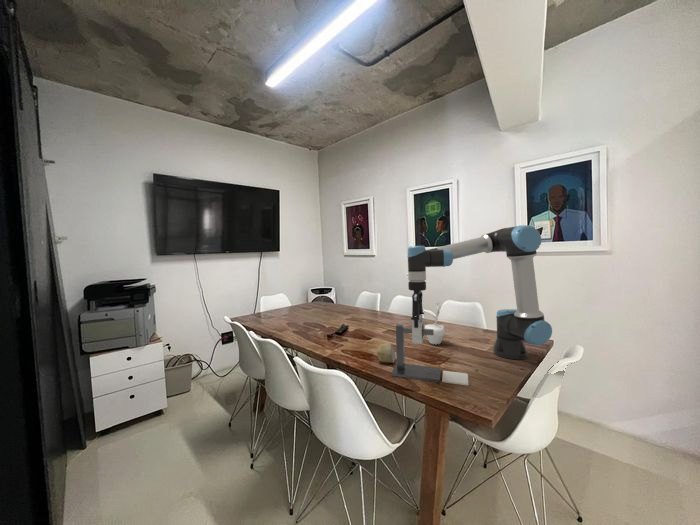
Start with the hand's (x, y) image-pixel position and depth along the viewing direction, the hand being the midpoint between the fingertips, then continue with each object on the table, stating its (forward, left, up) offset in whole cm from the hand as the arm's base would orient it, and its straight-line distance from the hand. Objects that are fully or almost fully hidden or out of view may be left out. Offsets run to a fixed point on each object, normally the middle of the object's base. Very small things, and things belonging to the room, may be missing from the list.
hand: (418, 331), depth 120 cm
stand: (+1, 0, -19) cm, 19 cm away
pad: (-15, 0, -19) cm, 24 cm away
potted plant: (-3, -44, -19) cm, 48 cm away
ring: (0, 0, -4) cm, 4 cm away
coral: (+17, -9, -19) cm, 27 cm away
